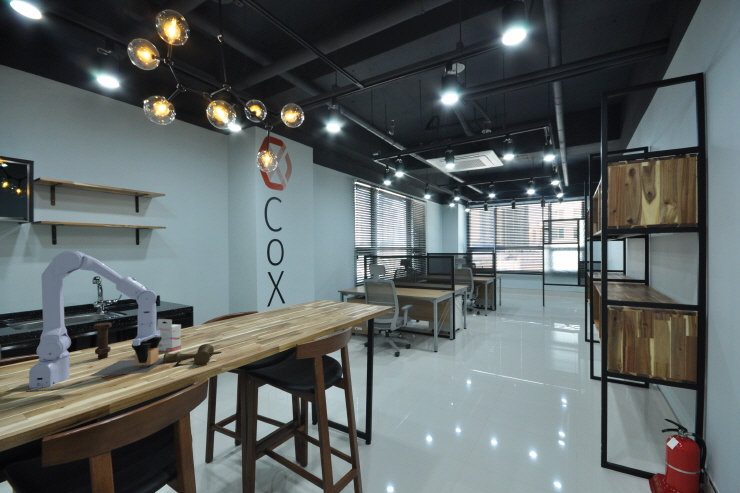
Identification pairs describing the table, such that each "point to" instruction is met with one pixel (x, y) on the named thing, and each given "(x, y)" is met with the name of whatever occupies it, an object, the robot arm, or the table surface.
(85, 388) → the table surface
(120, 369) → the board
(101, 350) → the bolt
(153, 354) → the tan cube block
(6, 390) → the table surface
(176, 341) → the ink cartridge box
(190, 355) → the kendama
